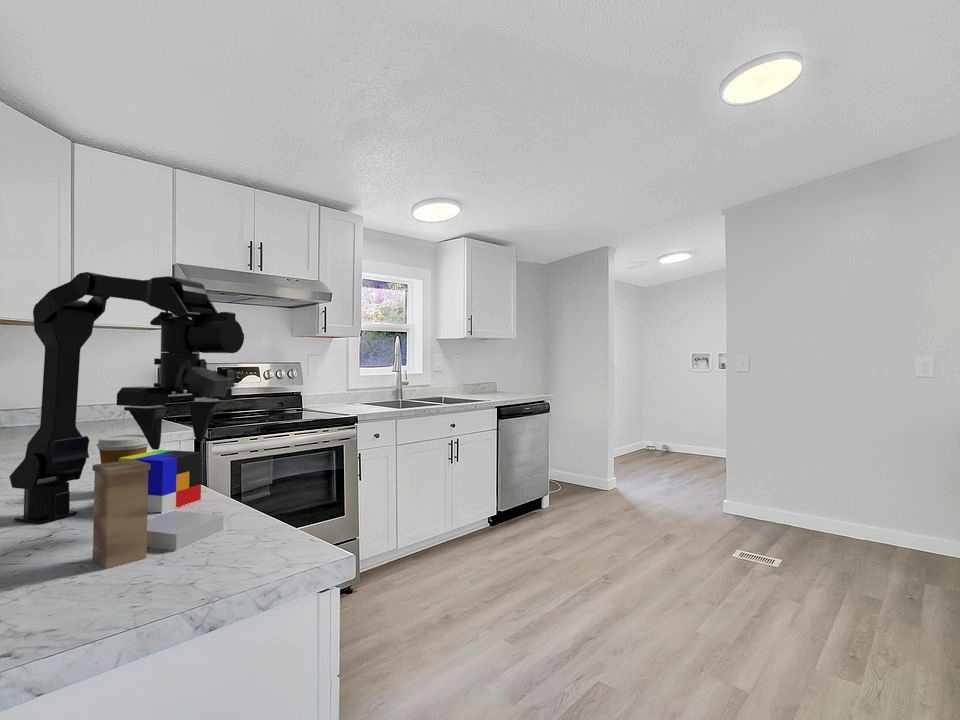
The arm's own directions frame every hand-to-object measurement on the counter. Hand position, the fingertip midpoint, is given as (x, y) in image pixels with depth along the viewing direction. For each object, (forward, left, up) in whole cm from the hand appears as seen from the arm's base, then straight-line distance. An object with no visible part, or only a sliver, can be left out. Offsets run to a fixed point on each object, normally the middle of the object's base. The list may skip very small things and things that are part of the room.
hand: (178, 445), depth 87 cm
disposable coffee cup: (-31, +18, -15) cm, 39 cm away
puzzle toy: (-16, +13, -15) cm, 26 cm away
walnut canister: (+2, -12, -15) cm, 19 cm away
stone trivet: (+2, -2, -15) cm, 15 cm away
